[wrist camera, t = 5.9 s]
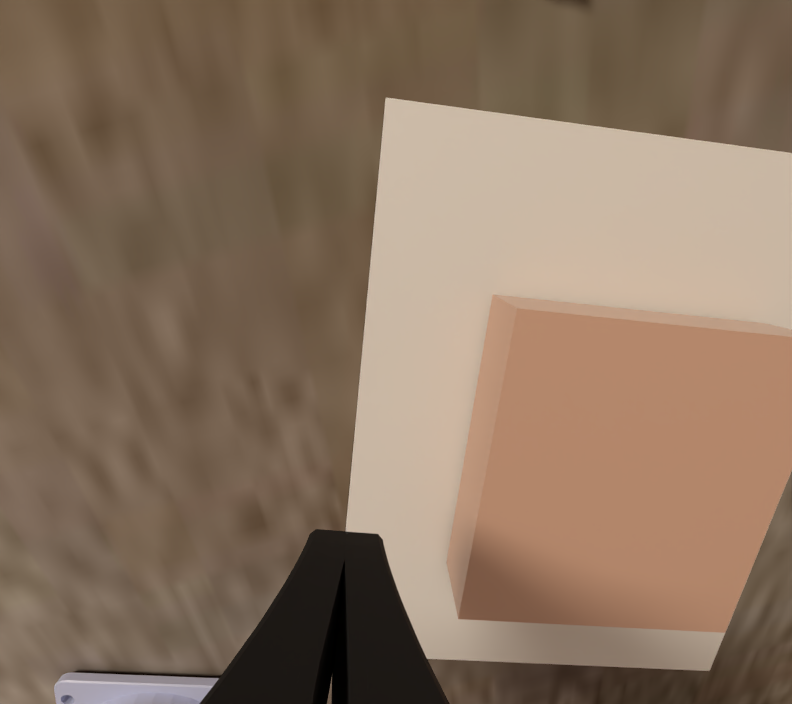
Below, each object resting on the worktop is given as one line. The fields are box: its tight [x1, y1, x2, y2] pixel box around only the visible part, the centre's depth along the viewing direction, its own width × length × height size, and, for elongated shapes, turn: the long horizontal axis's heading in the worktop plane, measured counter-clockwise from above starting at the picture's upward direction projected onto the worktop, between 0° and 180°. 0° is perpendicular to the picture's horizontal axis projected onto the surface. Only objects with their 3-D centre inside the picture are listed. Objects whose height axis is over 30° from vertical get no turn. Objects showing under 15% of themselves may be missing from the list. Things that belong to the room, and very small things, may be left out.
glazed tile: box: [446, 294, 792, 633], centre depth 14 cm, size 10×3×9 cm
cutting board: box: [346, 98, 792, 671], centre depth 15 cm, size 20×16×1 cm
